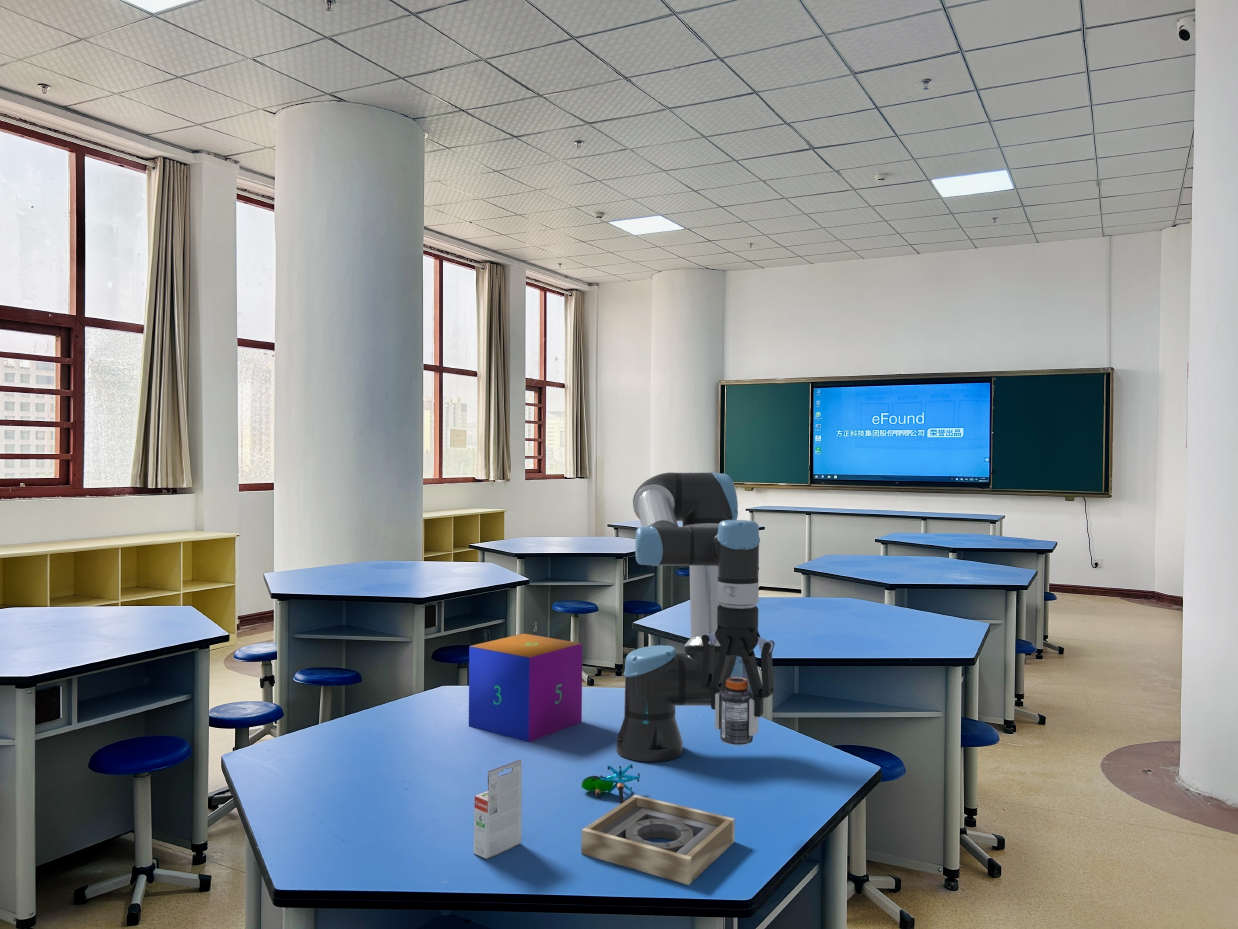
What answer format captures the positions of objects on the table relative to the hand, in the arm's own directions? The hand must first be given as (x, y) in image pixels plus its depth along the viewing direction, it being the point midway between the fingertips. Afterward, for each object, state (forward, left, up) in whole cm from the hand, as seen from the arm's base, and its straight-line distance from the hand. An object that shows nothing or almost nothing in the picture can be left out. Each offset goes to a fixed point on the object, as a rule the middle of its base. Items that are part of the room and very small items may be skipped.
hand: (736, 730), depth 156 cm
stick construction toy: (-25, -2, -17) cm, 31 cm away
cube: (-68, +26, -17) cm, 75 cm away
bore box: (-7, -17, -17) cm, 25 cm away
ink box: (-30, -32, -17) cm, 47 cm away
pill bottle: (0, 0, -2) cm, 2 cm away
